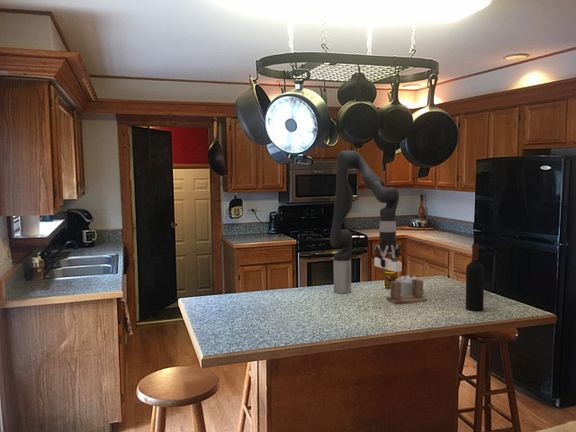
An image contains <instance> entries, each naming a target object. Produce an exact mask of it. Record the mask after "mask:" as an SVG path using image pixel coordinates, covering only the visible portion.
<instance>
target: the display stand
mask: <svg viewBox="0 0 576 432" xmlns="http://www.w3.org/2000/svg"><path fill="white" fill-rule="evenodd" d="M386 300H387V301H389V302H391V303H392V304H394V305H403V304H405V305H406V304H413V303H424V302H428V298H427V297H424V280H422V279H419V278H417V279H412V295H401V283H400V282H398V281H397V280H396V281H391V290H390V296H386Z"/></svg>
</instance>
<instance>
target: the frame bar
mask: <svg viewBox="0 0 576 432" xmlns="http://www.w3.org/2000/svg"><path fill="white" fill-rule="evenodd" d="M384 260H385V267H382V266H381V259H380V258H377V257H374V261H373V262H374V267H377V268H380V269H383V270H385V269H387V270H391V271H394V272H396V273H398V272H402V271H403V268H402V267H403V264H402V263H403V262H401V261H398V260H396V259H395V260H390V258H386V257H385V259H384Z"/></svg>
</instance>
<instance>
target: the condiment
mask: <svg viewBox="0 0 576 432" xmlns="http://www.w3.org/2000/svg"><path fill="white" fill-rule="evenodd" d="M383 276H384V286H385V289H384V290H387V289H391V281H397V280H396V279H397V272H394V271H391V270H387V269H384V275H383ZM380 287H381V289H383V288H382V287H383V286H380Z"/></svg>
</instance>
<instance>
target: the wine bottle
mask: <svg viewBox="0 0 576 432" xmlns="http://www.w3.org/2000/svg"><path fill="white" fill-rule="evenodd" d="M479 247H480V245H479V244H478V243H472V244H471V261H470V262H469V263H468V264H467V265H466V266H465V267H466V269H465V310H466V311H469V312H483V311H484V301H485V300H484V296H485V295H484V292H485V291H484V289H485V288H484V287H485V285H484V284H485V283H484V282H485V267H484V266H483V264H482V263H481V262H480V261H479V250H480V249H479Z"/></svg>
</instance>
